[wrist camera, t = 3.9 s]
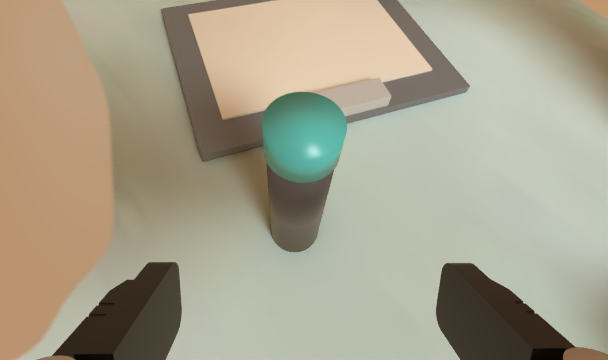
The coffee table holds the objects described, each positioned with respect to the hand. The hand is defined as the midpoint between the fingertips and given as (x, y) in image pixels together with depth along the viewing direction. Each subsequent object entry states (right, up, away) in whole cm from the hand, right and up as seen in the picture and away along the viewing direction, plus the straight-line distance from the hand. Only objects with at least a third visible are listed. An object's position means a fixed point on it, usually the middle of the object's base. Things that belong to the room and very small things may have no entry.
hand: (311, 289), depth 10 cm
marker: (-1, 0, +14) cm, 14 cm away
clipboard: (0, +17, +24) cm, 29 cm away
